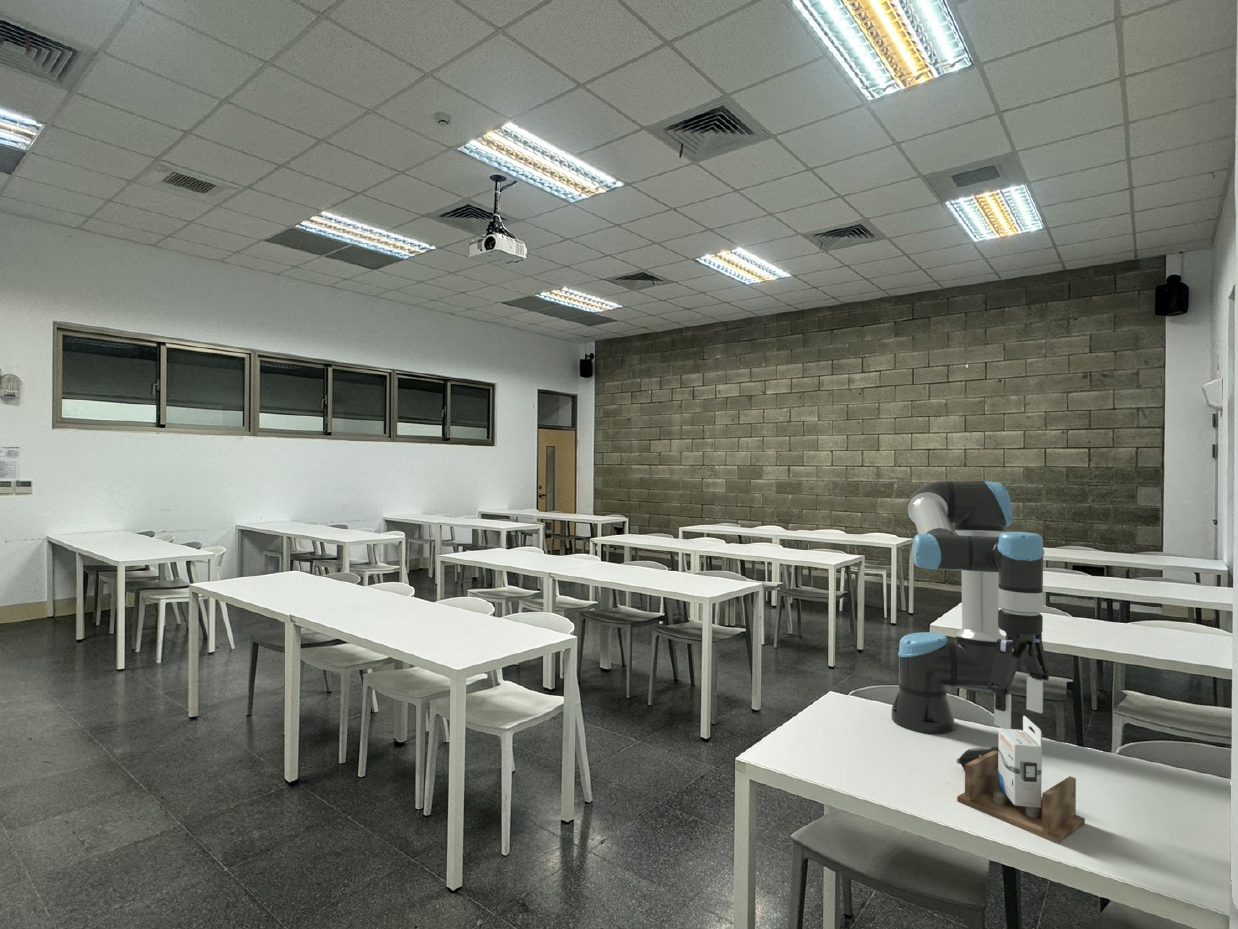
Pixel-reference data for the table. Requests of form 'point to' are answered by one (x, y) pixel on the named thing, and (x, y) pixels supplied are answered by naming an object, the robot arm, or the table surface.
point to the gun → (974, 754)
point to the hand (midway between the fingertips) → (1018, 718)
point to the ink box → (1021, 764)
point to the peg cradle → (1046, 821)
